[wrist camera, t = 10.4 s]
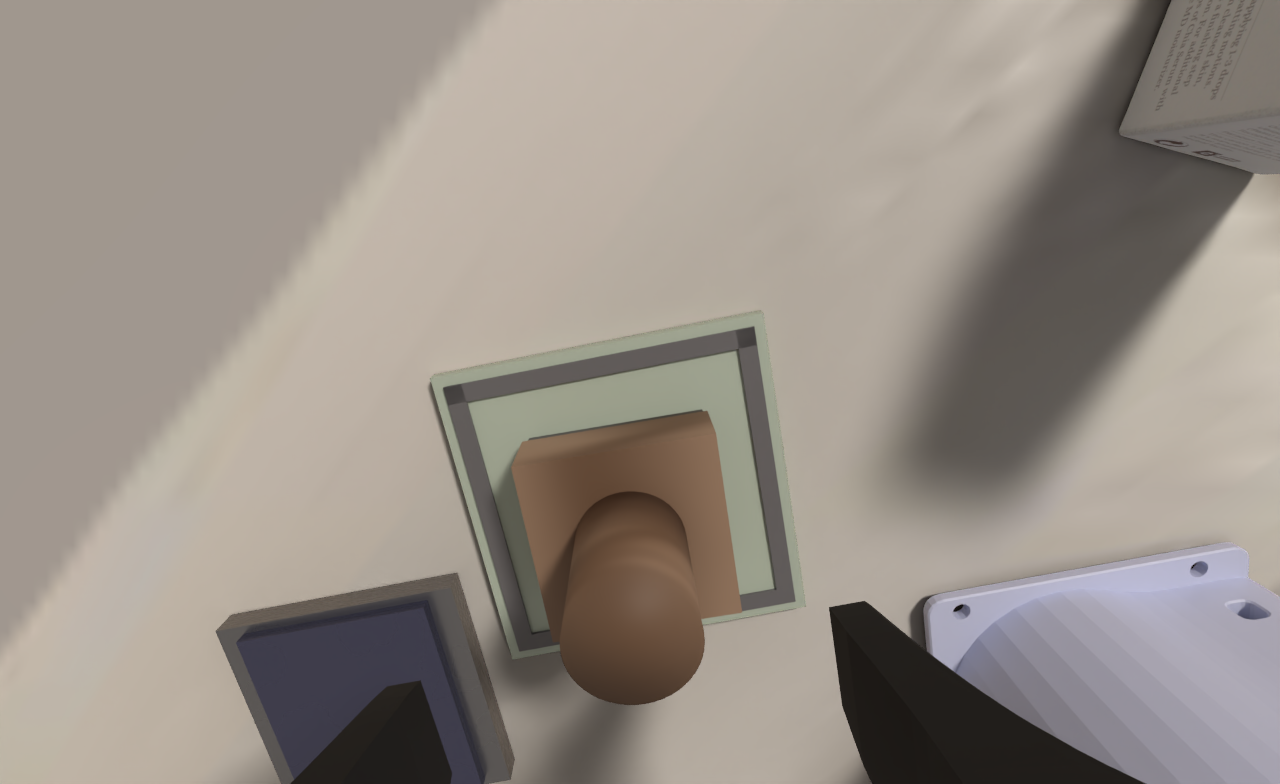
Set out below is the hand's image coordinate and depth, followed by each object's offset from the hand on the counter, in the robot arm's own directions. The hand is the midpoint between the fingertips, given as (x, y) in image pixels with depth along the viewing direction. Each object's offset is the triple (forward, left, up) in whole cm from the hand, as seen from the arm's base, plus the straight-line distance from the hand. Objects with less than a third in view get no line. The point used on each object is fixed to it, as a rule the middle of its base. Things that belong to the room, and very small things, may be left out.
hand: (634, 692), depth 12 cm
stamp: (0, 0, -8) cm, 8 cm away
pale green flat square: (0, 0, -8) cm, 8 cm away
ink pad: (+9, +5, -8) cm, 13 cm away
